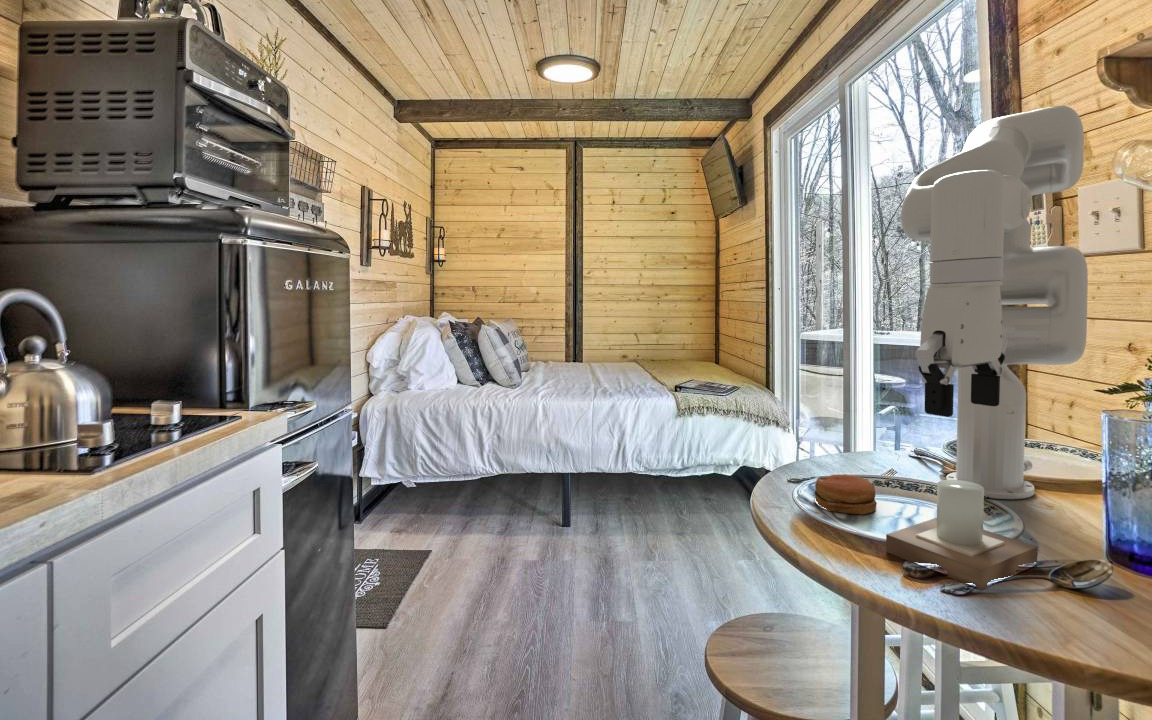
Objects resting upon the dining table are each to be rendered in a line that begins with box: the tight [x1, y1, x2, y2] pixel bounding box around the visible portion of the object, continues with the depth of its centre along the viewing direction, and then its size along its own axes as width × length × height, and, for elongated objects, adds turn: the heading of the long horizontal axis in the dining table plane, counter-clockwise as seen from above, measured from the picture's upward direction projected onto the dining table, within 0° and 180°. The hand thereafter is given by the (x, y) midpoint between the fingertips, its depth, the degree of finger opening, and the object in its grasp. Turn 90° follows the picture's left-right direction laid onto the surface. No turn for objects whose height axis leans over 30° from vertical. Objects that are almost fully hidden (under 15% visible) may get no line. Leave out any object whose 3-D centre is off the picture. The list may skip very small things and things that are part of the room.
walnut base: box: [885, 517, 1038, 591], centre depth 74 cm, size 12×12×3 cm
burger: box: [813, 473, 878, 515], centre depth 95 cm, size 10×9×5 cm
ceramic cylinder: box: [936, 479, 985, 546], centre depth 74 cm, size 5×5×7 cm
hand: (962, 409), depth 72 cm, fingers open, 9 cm apart
